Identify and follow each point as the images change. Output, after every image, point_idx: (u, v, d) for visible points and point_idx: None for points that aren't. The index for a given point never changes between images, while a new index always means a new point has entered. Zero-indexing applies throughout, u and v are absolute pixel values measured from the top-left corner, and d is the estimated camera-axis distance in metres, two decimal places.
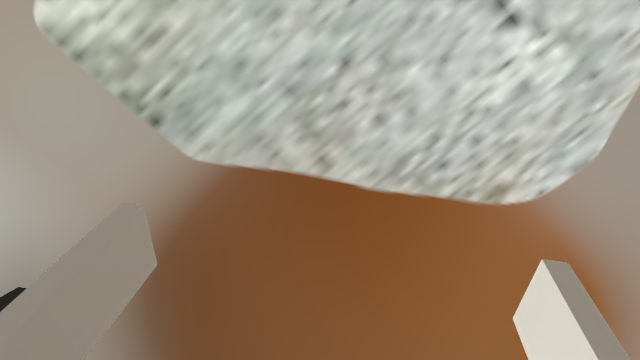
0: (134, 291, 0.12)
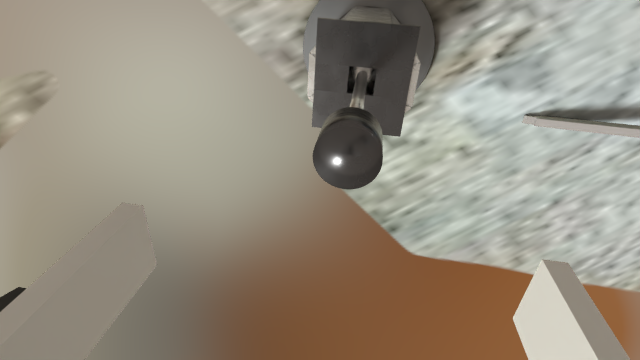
0: (134, 291, 0.12)
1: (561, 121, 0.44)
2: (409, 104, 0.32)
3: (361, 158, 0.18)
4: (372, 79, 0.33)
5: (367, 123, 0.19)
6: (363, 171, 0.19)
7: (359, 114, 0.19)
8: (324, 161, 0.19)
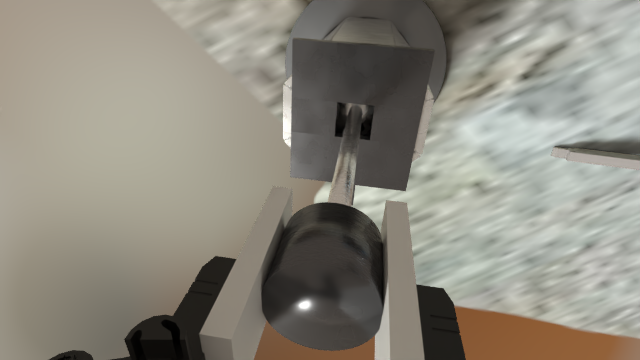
0: None
1: (600, 156, 0.36)
2: (418, 151, 0.24)
3: (346, 310, 0.10)
4: (369, 117, 0.25)
5: (355, 244, 0.11)
6: (350, 329, 0.11)
7: (344, 223, 0.11)
8: (281, 311, 0.11)
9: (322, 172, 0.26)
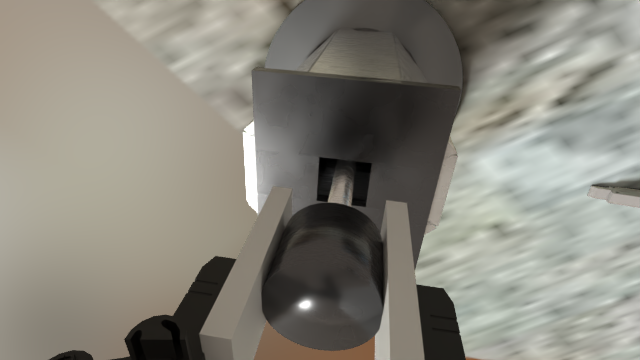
0: None
1: None
2: (433, 222, 0.17)
3: (346, 310, 0.10)
4: None
5: (355, 244, 0.11)
6: (350, 329, 0.11)
7: (344, 223, 0.11)
8: (281, 311, 0.11)
9: None
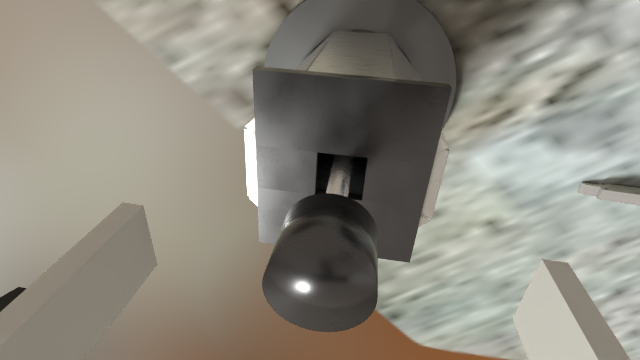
0: (134, 291, 0.12)
1: (639, 195, 0.30)
2: (426, 215, 0.18)
3: (343, 292, 0.11)
4: None
5: (352, 231, 0.11)
6: (346, 311, 0.11)
7: (340, 212, 0.12)
8: (281, 294, 0.11)
9: None
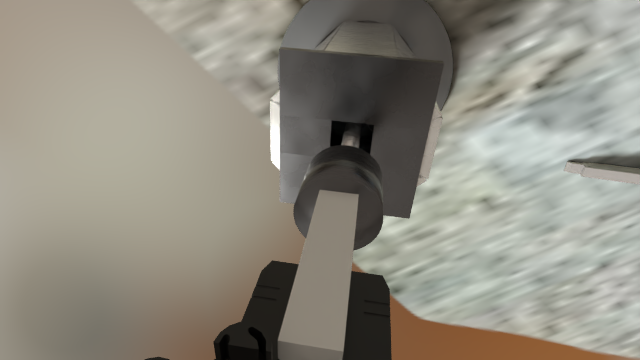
0: None
1: (618, 171, 0.33)
2: (424, 175, 0.21)
3: None
4: None
5: (363, 169, 0.15)
6: (359, 232, 0.15)
7: (354, 157, 0.15)
8: (308, 218, 0.15)
9: None
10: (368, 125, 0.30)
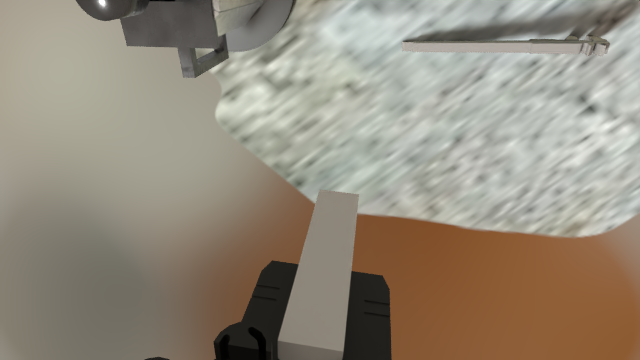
0: None
1: (437, 43, 0.41)
2: (216, 8, 0.29)
3: None
4: None
5: None
6: (112, 0, 0.23)
7: None
8: None
9: (149, 38, 0.31)
10: None
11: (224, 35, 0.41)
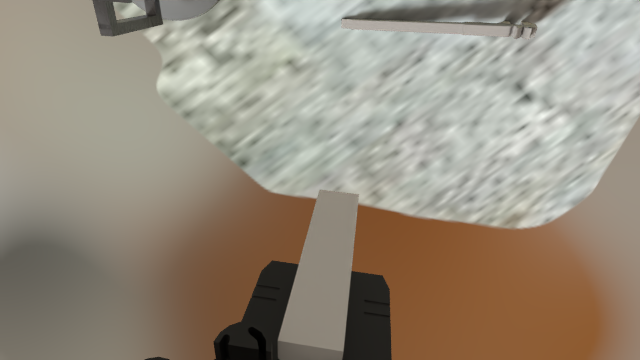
0: None
1: (374, 21, 0.40)
2: None
3: None
4: None
5: None
6: None
7: None
8: None
9: None
10: None
11: None
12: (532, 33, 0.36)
